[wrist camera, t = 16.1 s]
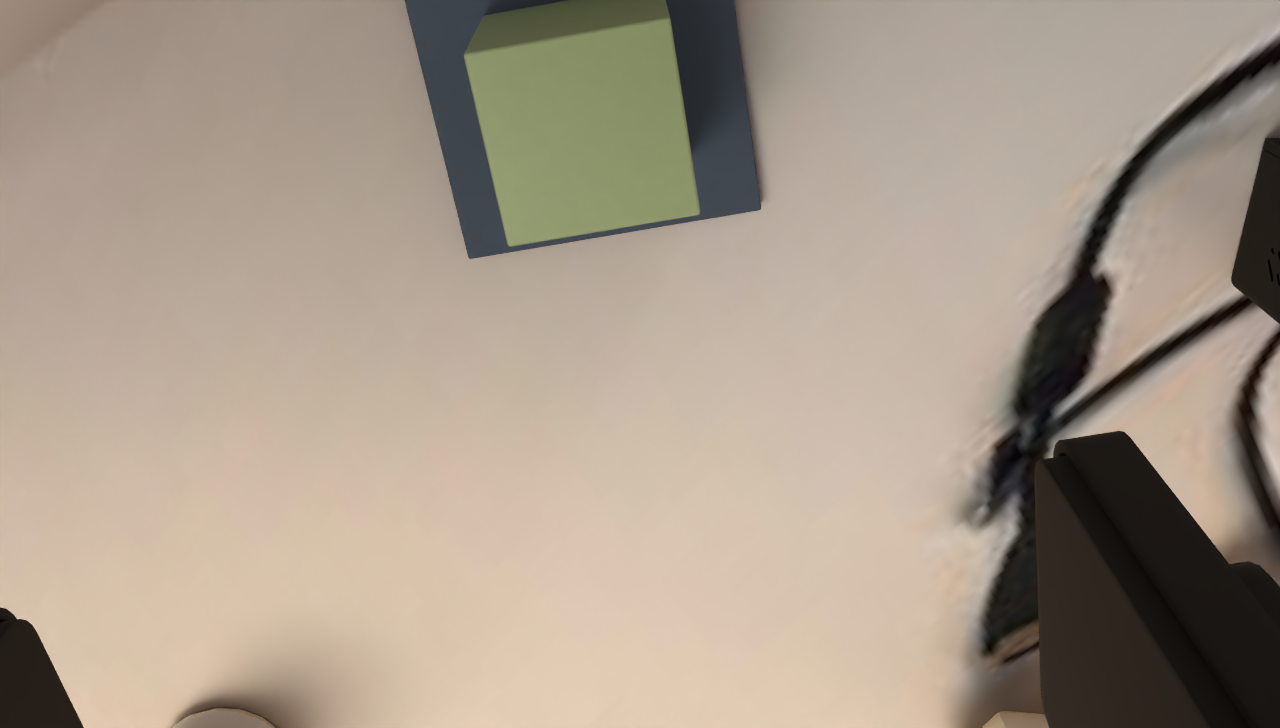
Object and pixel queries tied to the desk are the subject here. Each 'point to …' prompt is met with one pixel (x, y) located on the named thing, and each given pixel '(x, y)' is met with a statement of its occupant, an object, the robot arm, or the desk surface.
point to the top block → (582, 117)
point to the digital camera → (1262, 236)
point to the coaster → (711, 89)
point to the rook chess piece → (224, 719)
